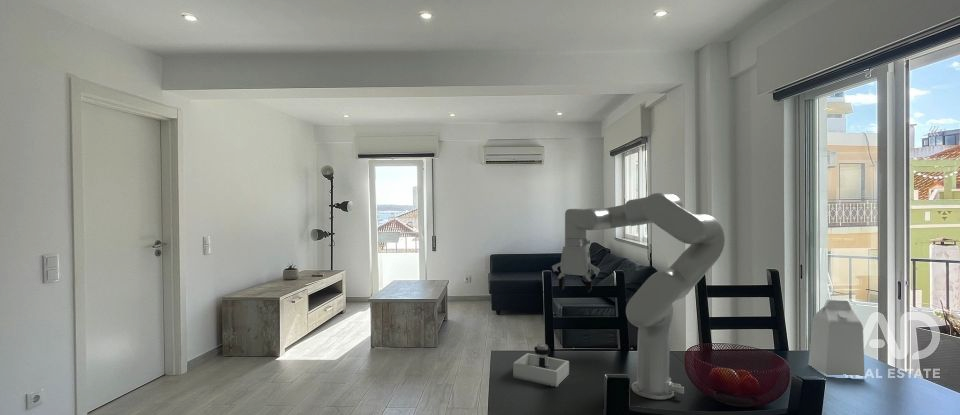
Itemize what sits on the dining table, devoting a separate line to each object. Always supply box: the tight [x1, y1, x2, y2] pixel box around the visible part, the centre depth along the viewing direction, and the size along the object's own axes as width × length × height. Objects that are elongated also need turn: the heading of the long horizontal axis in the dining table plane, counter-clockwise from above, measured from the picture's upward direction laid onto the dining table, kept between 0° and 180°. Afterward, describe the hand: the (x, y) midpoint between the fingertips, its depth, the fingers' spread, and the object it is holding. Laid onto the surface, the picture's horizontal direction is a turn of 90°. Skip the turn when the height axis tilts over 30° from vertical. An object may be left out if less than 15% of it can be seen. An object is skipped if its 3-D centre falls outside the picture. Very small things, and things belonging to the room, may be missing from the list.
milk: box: [808, 298, 866, 376], centre depth 165 cm, size 12×12×26 cm
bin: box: [512, 352, 570, 388], centre depth 159 cm, size 16×12×5 cm
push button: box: [534, 343, 551, 369], centre depth 158 cm, size 7×5×10 cm
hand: (575, 290), depth 167 cm, fingers open, 9 cm apart
